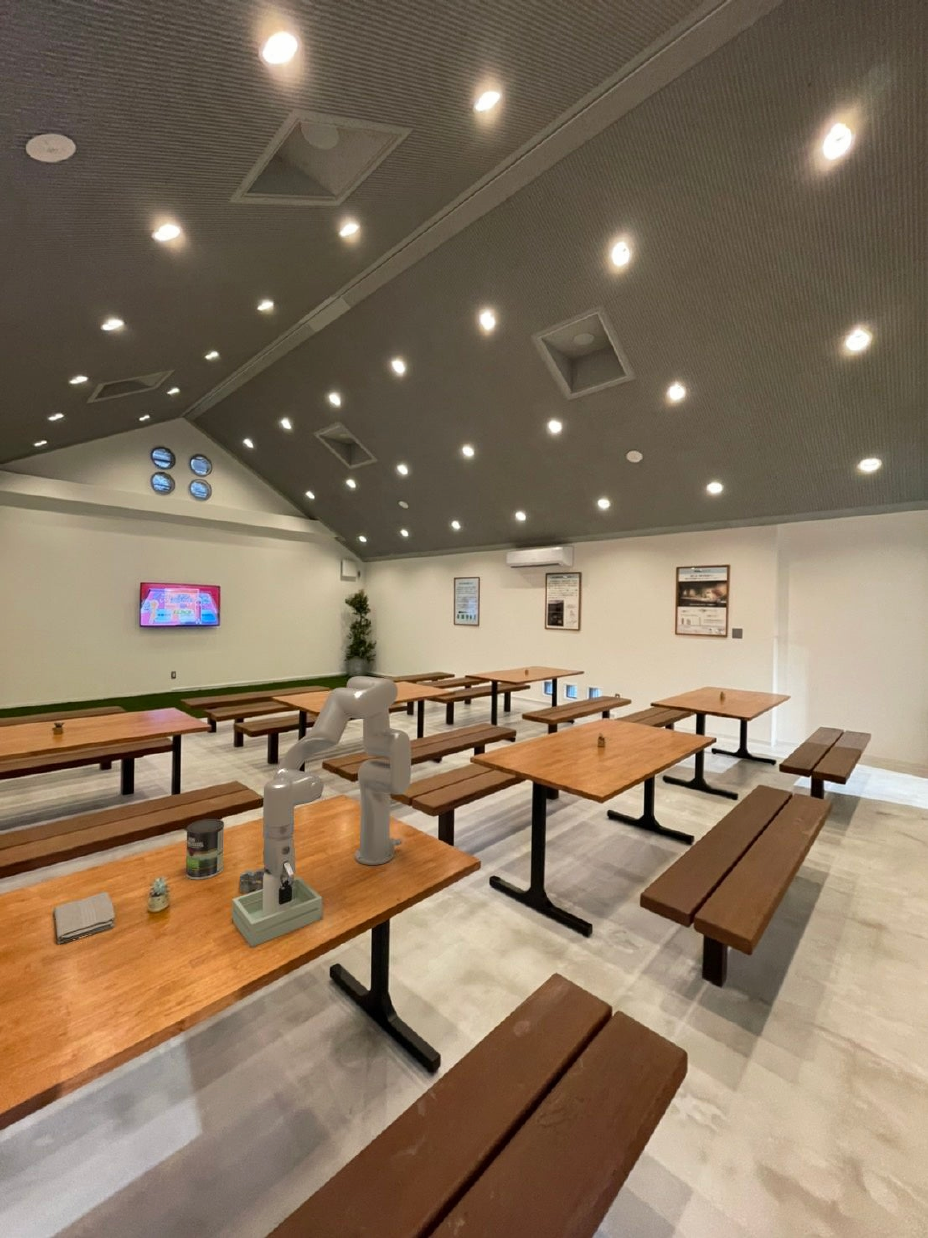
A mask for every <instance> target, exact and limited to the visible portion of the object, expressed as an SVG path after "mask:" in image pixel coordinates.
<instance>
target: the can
mask: <svg viewBox="0 0 928 1238" xmlns="http://www.w3.org/2000/svg"><path fill="white" fill-rule="evenodd" d="M284 874H286V873H282V874H281V875H284ZM282 880H283V883H284V882H285V881H286V880H287V877H286V878H283V879H282ZM279 888H280V884H279V880H278V879H276V878H275V877H274V876H273V875H272V874H271V873H270V872H269V871H268V870H267V869H265V874H264V876H263V898H262V899H263V918H264V917H266V916H269V915H272V914H274V913H277V912H280V911H282V910H285V909H288V908H289V902H287V903H284V904H282V905H280V904H279Z"/></svg>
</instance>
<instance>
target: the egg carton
mask: <svg viewBox="0 0 928 1238" xmlns="http://www.w3.org/2000/svg"><path fill="white" fill-rule="evenodd" d="M264 873H265V872H264V868H261V869H256V870H245V871H244V872H242V873H240V875H239V881H238V885H239V893H243V894H249V893H251V892H253V891H258V890H261V889H263V876H264ZM258 880H260V881H258Z"/></svg>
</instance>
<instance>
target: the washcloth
mask: <svg viewBox="0 0 928 1238" xmlns="http://www.w3.org/2000/svg"><path fill="white" fill-rule="evenodd" d="M114 910H115V909H114V905H113V903H112V900H111V898H110V896H109V893H108V891H102V892H100V893H97V894H94V895H93V894H92V895H90V896H89V897H85V898H83V899H79V900H73V901H70V902H67V903H63V904H60V905H55V907H54V909H53V915H54V916H53V917H54V920H55V919H56V920H55V921H54V922H55V929H56V938H57V940H56V941H57V945H58V944H60V945H61V944H63V943H62V942H65V943H69V942H68V941H71V940H73V939H78V938H79V937H82V936H85V935H89V934H93V935H97V934H100V933H102V932H106V931H108V930H109V931H110V930H111V929H113V928H114V926H115V923H114V919H115V917H116V916H115V911H114ZM112 919H113V920H112ZM78 940H79V939H78ZM71 942H72V941H71Z"/></svg>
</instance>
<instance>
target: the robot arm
mask: <svg viewBox="0 0 928 1238" xmlns="http://www.w3.org/2000/svg"><path fill="white" fill-rule="evenodd" d="M398 692H399V690H398V686H397V684H396V683H395V682H394V680H392V679H388V678H384V677H383V678H382V677H372V676H366V675H365V676H364V675H363V676H362V675H361V676H360V675H357V676H353V677H351V678H349V679H348V681H347V683H346V687H336V688H334V689H332V690H331V691H330V693H329V694H328V696H327V698H326V700H325V701H324V704H323V706H322V708H321V710H320V712H319V714H318V716H317V718H316V720H315V722H314V724H313V726H312V729H311V730H310V731H309V733H307V734H306V735H304V736H303V737H302V738H301V739H299V740H298V741H297V742H296V743H294V744H293V745H292V746H291V747H290V748H289V749H288V750H287V751H286V753H285V754H284V755H283V757H282V759H281V760H280V763H279V764H278V766H277V768H276V770H275V773H274V776H273V779H271V780H269V781H267V782H266V783H265V784H264V787H263V799H262V800H263V802H262V803H263V810H262V814H263V815H262V837H263V839H264V840H263V852H262V853H263V859H262V860H263V861H262V863H263V866H264V867H263V869H264V872H265V869H267V870H268V871H269V872H270V873H271V874H272V875H273V876H274V877H275V878H276V879H278V880H279V884H280V888H279V904H280V905H282V904H284V903H287V902H290V901H291V900H292V889H293V888H292V886H293V882H294V881H293V879H294V878H295V873H296V853H295V852H296V851H295V848H296V847H295V841H294V836H293V835H294V833H295V828H294V827H295V819H294V818H295V807H296V806H301V805H306V804H310V803H312V802H315V801H316V800H317V799H319V798H320V797H321V795H322V793H323V791H324V782H323V780H322V778H321V777H320V776H318V775H316V774H314V773H311V772H306V771H302V770H300V768H301V767H302V765H303V764H304V763H305V762H306V761H307V760H308V759H309V758H310V757H312V756H313V755H315V754H317V753H321V752H323V751H326V750H328V749H331V748H333V747H336V746H338V744H339V743H340V740H341V738H342V737H343V734H344V731H345V729H346V727H347V725H348V723H349V721H350V719H351V718H352V719H358V720H362V744H363V746H362V747H363V751H364V752H365V753H366V754H367V755H368V756H370V757H375V758H369V759H367V760H365V761H364V760H363V762H362V763H361V764H360V766H359V768H358V772H357V780H358V786H359V792H360V793H359V794H360V828H359V829H360V830H359V836H360V838H359V848H358V849H357V850H356V851H355V853H354V859H355V860H356V861H357V862H358V863H359V864H363V865H368V866H378V865H382V864H385V863H388V862H389V861H391V860H393V858H394V857H395V851H394V849H393V848H395V847H396V846H400V845H402V843H403V840H402V838H401V837H399V838H396V839H395V838H394V837H390V833H391V829H390V828H391V800H390V798H391V797H390V796H389V794H391V795H398V796H399V795H403V794H405V793H406V792H407V791H408V789H409V787H410V783H411V775H412V744H411V738H410V736H409V735H408V733H406V731H404V730H401V729H396V728H391V726H390V710H389V708H390V707H391V706H392V705H393V704H394V703H395V702H396V700H397V698H398V694H399V693H398ZM378 758H380V759H378ZM383 759H386V760H383ZM282 873H286V874H284V875H281V874H282ZM264 874H265V873H264ZM286 877H287V880H286V881H285V882H284V883H283V880H282V879H283V878H286Z"/></svg>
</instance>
